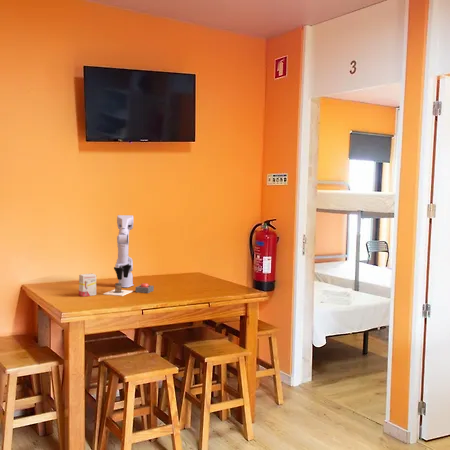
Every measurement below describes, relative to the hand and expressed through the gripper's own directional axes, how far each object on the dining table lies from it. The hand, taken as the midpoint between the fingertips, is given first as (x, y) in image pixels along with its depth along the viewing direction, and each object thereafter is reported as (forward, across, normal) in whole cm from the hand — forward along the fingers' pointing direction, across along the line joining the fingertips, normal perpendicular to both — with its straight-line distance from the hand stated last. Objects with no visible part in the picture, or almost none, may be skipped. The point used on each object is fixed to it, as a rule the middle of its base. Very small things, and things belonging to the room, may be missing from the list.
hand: (122, 278), depth 314 cm
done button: (+6, -9, +10) cm, 15 cm away
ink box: (+9, +14, -15) cm, 22 cm away
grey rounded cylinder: (+8, +2, -2) cm, 8 cm away
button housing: (+8, -8, +10) cm, 16 cm away
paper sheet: (+8, +2, -2) cm, 9 cm away
